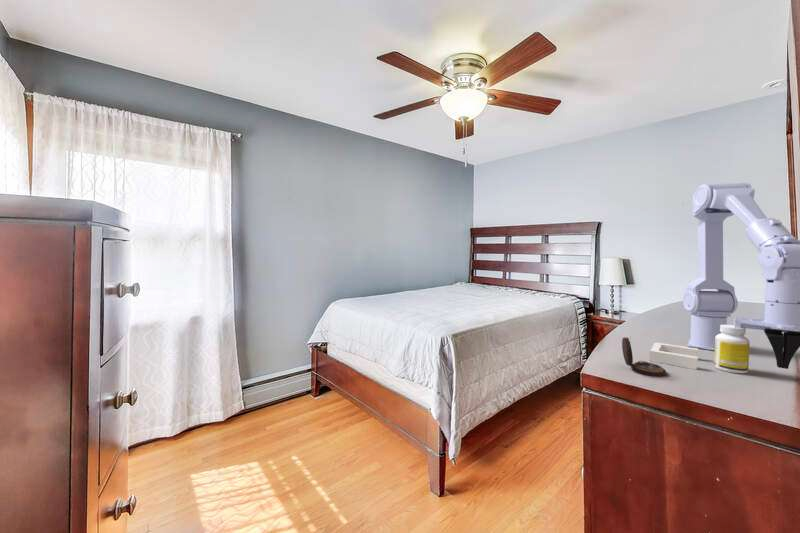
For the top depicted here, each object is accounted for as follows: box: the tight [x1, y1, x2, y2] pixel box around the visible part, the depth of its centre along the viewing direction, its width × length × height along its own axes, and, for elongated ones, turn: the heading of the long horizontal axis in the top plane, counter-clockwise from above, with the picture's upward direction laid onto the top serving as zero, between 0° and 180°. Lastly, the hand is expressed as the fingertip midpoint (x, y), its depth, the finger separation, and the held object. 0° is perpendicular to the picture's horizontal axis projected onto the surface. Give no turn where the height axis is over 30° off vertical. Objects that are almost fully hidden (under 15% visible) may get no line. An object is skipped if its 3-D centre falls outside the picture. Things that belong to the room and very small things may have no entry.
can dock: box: [649, 342, 700, 370], centre depth 80 cm, size 10×8×2 cm
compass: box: [621, 336, 667, 377], centre depth 74 cm, size 8×8×7 cm
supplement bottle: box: [713, 324, 750, 374], centre depth 73 cm, size 5×5×10 cm
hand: (782, 367), depth 68 cm, fingers closed
